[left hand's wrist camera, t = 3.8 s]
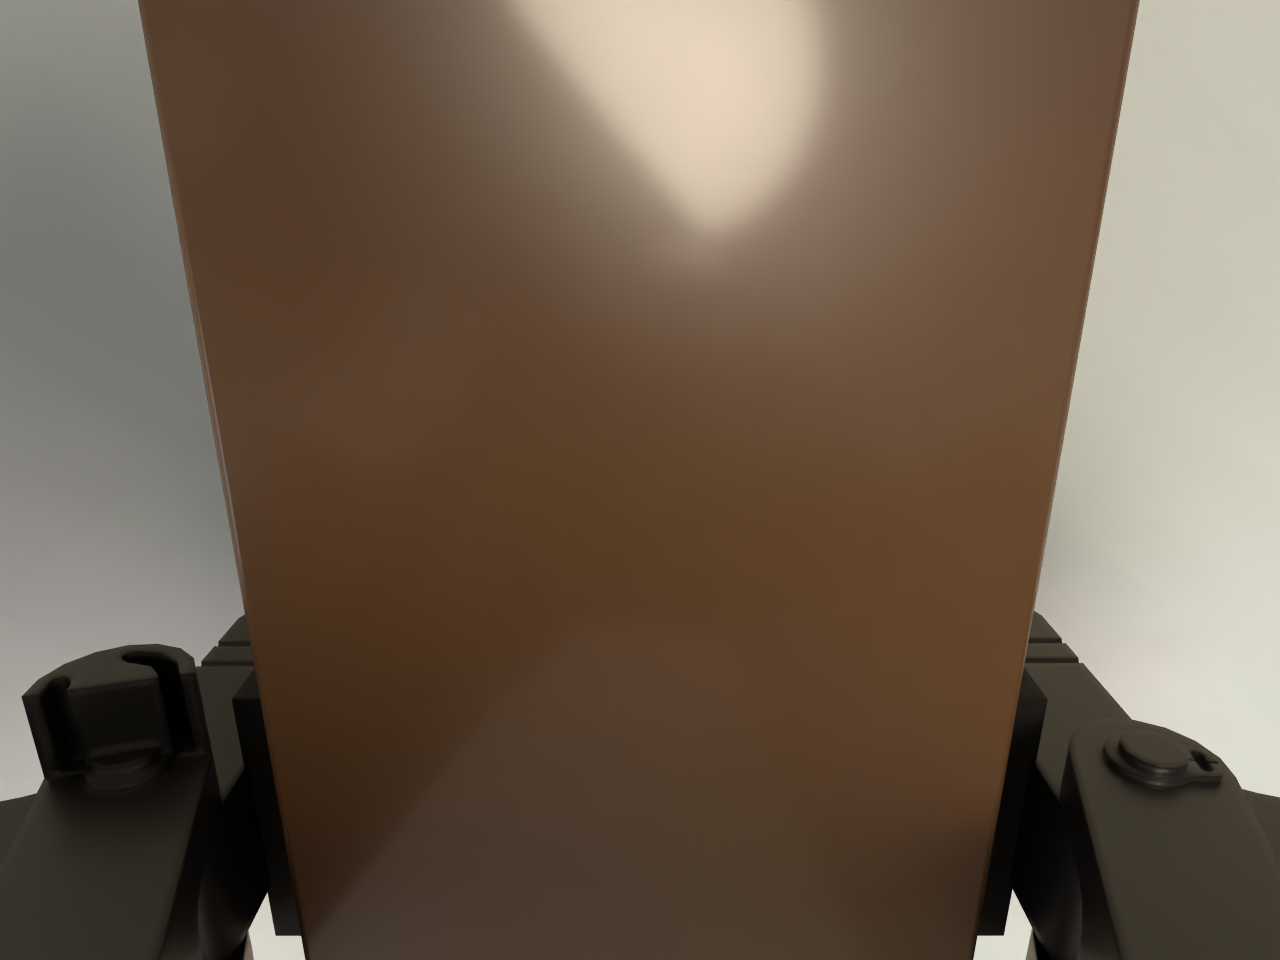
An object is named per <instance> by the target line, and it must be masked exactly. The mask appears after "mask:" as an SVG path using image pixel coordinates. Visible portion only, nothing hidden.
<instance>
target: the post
mask: <svg viewBox="0 0 1280 960" xmlns="http://www.w3.org/2000/svg"><path fill="white" fill-rule="evenodd" d="M1139 1H1140V0H138V3H139V9H140V15H141V20H142V26H143V32H144V38H145V43H146V49H147V55H148V60H149V66H150V72H151V78H152V83H153V89H154V95H155V101H156V106H157V112H158V118H159V123H160V129H161V135H162V141H163V146H164V152H165V158H166V164H167V169H168V175H169V181H170V186H171V192H172V198H173V204H174V209H175V215H176V221H177V227H178V232H179V238H180V244H181V249H182V255H183V261H184V267H185V272H186V278H187V284H188V290H189V295H190V301H191V307H192V312H193V318H194V324H195V330H196V335H197V341H198V347H199V353H200V358H201V364H202V370H203V375H204V381H205V387H206V393H207V398H208V404H209V410H210V416H211V421H212V427H213V433H214V439H215V444H216V450H217V456H218V461H219V467H220V473H221V479H222V484H223V490H224V496H225V502H226V507H227V513H228V519H229V524H230V530H231V536H232V542H233V547H234V553H235V559H236V565H237V570H238V576H239V582H240V587H241V593H242V599H243V605H244V610H245V616H246V622H247V628H248V633H249V639H250V645H251V650H252V656H253V662H254V668H255V673H256V679H257V685H258V691H259V696H260V702H261V708H262V713H263V719H264V725H265V731H266V736H267V742H268V748H269V754H270V759H271V765H272V771H273V776H274V782H275V788H276V794H277V799H278V805H279V811H280V817H281V822H282V828H283V834H284V839H285V845H286V851H287V857H288V862H289V868H290V874H291V880H292V885H293V891H294V897H295V902H296V908H297V914H298V920H299V925H300V931H301V937H302V943H303V948H304V954H305V960H973V958H974V952H975V946H976V940H977V934H978V929H979V923H980V917H981V911H982V906H983V900H984V894H985V888H986V883H987V877H988V871H989V865H990V860H991V854H992V848H993V842H994V836H995V831H996V825H997V819H998V813H999V808H1000V802H1001V796H1002V790H1003V785H1004V779H1005V773H1006V767H1007V762H1008V756H1009V750H1010V744H1011V738H1012V733H1013V727H1014V721H1015V715H1016V710H1017V704H1018V698H1019V692H1020V687H1021V681H1022V675H1023V669H1024V664H1025V658H1026V652H1027V646H1028V640H1029V635H1030V629H1031V623H1032V617H1033V612H1034V606H1035V600H1036V594H1037V589H1038V583H1039V577H1040V571H1041V566H1042V560H1043V554H1044V548H1045V543H1046V537H1047V531H1048V525H1049V519H1050V514H1051V508H1052V502H1053V496H1054V491H1055V485H1056V479H1057V473H1058V468H1059V462H1060V456H1061V450H1062V445H1063V439H1064V433H1065V427H1066V421H1067V416H1068V410H1069V404H1070V398H1071V393H1072V387H1073V381H1074V375H1075V370H1076V364H1077V358H1078V352H1079V347H1080V341H1081V335H1082V329H1083V323H1084V318H1085V312H1086V306H1087V300H1088V295H1089V289H1090V283H1091V277H1092V272H1093V266H1094V260H1095V254H1096V249H1097V243H1098V237H1099V231H1100V226H1101V220H1102V214H1103V208H1104V202H1105V197H1106V191H1107V185H1108V179H1109V174H1110V168H1111V162H1112V156H1113V151H1114V145H1115V139H1116V133H1117V128H1118V122H1119V116H1120V110H1121V104H1122V99H1123V93H1124V87H1125V81H1126V76H1127V70H1128V64H1129V58H1130V53H1131V47H1132V41H1133V35H1134V30H1135V24H1136V18H1137V12H1138V6H1139Z"/></svg>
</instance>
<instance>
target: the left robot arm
mask: <svg viewBox="0 0 1280 960" xmlns="http://www.w3.org/2000/svg"><path fill="white" fill-rule="evenodd" d="M218 643H219V644H218V647H214V648H213V649H212V650H211V651H210V652H209V653H208V655H207V656H206V657H205V658H204V659H203V660H202V665H201V667H195V662H194V658H193V657H192V656H190V655H189V654H188V653H186V652H185V651H183V650H182V649H181V648H176V647H171V646H166V645H161V644H146V645H128V646H123V647H118V648H113V649H109V650H104V651H99V652H95V653H93V654H90V655H87V656H85V657H82V658H79V659H77V660H74V661H71V662H69V663H66V664H64V665H62V666H60V667H59V668H57V669H55V670H54V671H52V672H50V673H49V674H47V675H45V676H43V677H42V678H40V679H38V680H37V681H36V682H35V683H34V684H33V685H32V687H31V688H30V689H29V690H28V691H27V692H26V693H25V694H24V695H23V696H22V700H23V704H24V707H25V711H26V714H27V718H28V721H29V725H30V728H31V732H32V735H33V739H34V742H35V746H36V750H37V753H38V757H39V760H40V764H41V767H42V771H43V774H44V780H43V782H42V784H41V786H40V788H39V790H38V792H37V794H33V795H29V796H25V797H21V798H16V799H11V800H6V801H1V802H0V960H254V959H253V951H252V946H251V941H250V936H249V931H248V930H249V928H250V926H251V924H252V922H253V920H254V918H255V916H256V914H257V912H258V910H259V908H260V906H261V904H262V902H263V900H264V898H265V896H266V894H267V892H268V897H269V902H270V907H271V913H272V918H273V924H274V929H275V934H276V936H301V931H300V925H299V920H298V914H297V908H296V902H295V897H294V891H293V885H292V880H291V874H290V868H289V862H288V857H287V851H286V845H285V839H284V834H283V828H282V822H281V817H280V811H279V805H278V799H277V794H276V788H275V782H274V776H273V771H272V765H271V759H270V754H269V748H268V742H267V736H266V731H265V725H264V719H263V713H262V708H261V702H260V696H259V691H258V685H257V679H256V673H255V668H254V662H253V656H252V650H251V645H250V639H249V633H248V628H247V622H246V616H245V615H244V616H242V617H240V618H239V619H238V620H237V621H236V622H235V623H234V624H233V626H232V627H231V628H230V629H229V630H228V631H227V633H226V634H225V635H224V636H223V637H222V638H221V640H220V641H219V642H218ZM1078 659H1079V658H1078V657H1077V656H1076V655H1075V654H1074V652H1073V651H1072V650H1071V649H1070V648H1069V647H1068V646H1067V644H1066V643H1062V639H1061V637H1060V636H1059V635H1058V634H1057V633H1056V632H1055V631H1054V629H1053V628H1052V627H1051V626H1050V625H1049V624H1048V622H1047V621H1046V620H1045V619H1044V618H1043V617H1042V616H1041V615H1040V614H1038V613H1037V612H1035V611H1034V612H1033V617H1032V623H1031V629H1030V635H1029V640H1028V646H1027V652H1026V658H1025V664H1024V669H1023V675H1022V681H1021V687H1020V692H1019V698H1018V704H1017V710H1016V715H1015V721H1014V727H1013V733H1012V738H1011V744H1010V750H1009V756H1008V762H1007V767H1006V773H1005V779H1004V785H1003V790H1002V796H1001V802H1000V808H999V813H998V819H997V825H996V831H995V836H994V842H993V848H992V854H991V860H990V865H989V871H988V877H987V883H986V888H985V894H984V900H983V906H982V911H981V917H980V923H979V929H978V934H977V936H1004V931H1005V926H1006V920H1007V915H1008V910H1009V904H1010V899H1011V894H1012V888H1013V890H1014V892H1015V894H1016V896H1017V898H1018V900H1019V902H1020V904H1021V906H1022V908H1023V910H1024V912H1025V914H1026V916H1027V918H1028V920H1029V922H1030V924H1031V926H1032V931H1031V936H1030V941H1029V946H1028V951H1027V956H1026V960H1280V798H1279V797H1274V796H1269V795H1264V794H1259V793H1255V792H1251V791H1247V790H1244V789H1241V787H1240V785H1239V783H1238V781H1237V779H1236V777H1235V776H1234V775H1233V773H1232V772H1231V771H1230V770H1229V768H1228V767H1227V766H1226V765H1225V764H1224V762H1223V761H1222V760H1221V759H1220V758H1219V757H1218V756H1216V755H1215V754H1213V753H1212V752H1211V751H1209V750H1208V749H1206V748H1205V747H1203V746H1202V745H1200V744H1199V743H1198V742H1196V741H1194V740H1192V739H1190V738H1187V737H1185V736H1183V735H1181V734H1178V733H1176V732H1174V731H1171V730H1169V729H1167V728H1164V727H1160V726H1156V725H1152V724H1148V723H1144V722H1140V721H1136V720H1132V719H1131V718H1130V717H1129V716H1128V715H1127V714H1126V712H1125V711H1124V710H1123V709H1122V708H1121V707H1120V705H1119V704H1118V703H1117V702H1116V701H1115V700H1114V699H1113V697H1112V696H1111V695H1110V694H1109V693H1108V692H1107V690H1106V689H1105V688H1104V687H1103V686H1102V685H1101V684H1100V682H1099V681H1098V680H1097V679H1096V678H1095V677H1094V676H1093V674H1092V673H1091V672H1090V671H1089V670H1088V669H1087V667H1086V666H1085V665H1084V664H1083V663H1079V661H1078Z"/></svg>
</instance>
